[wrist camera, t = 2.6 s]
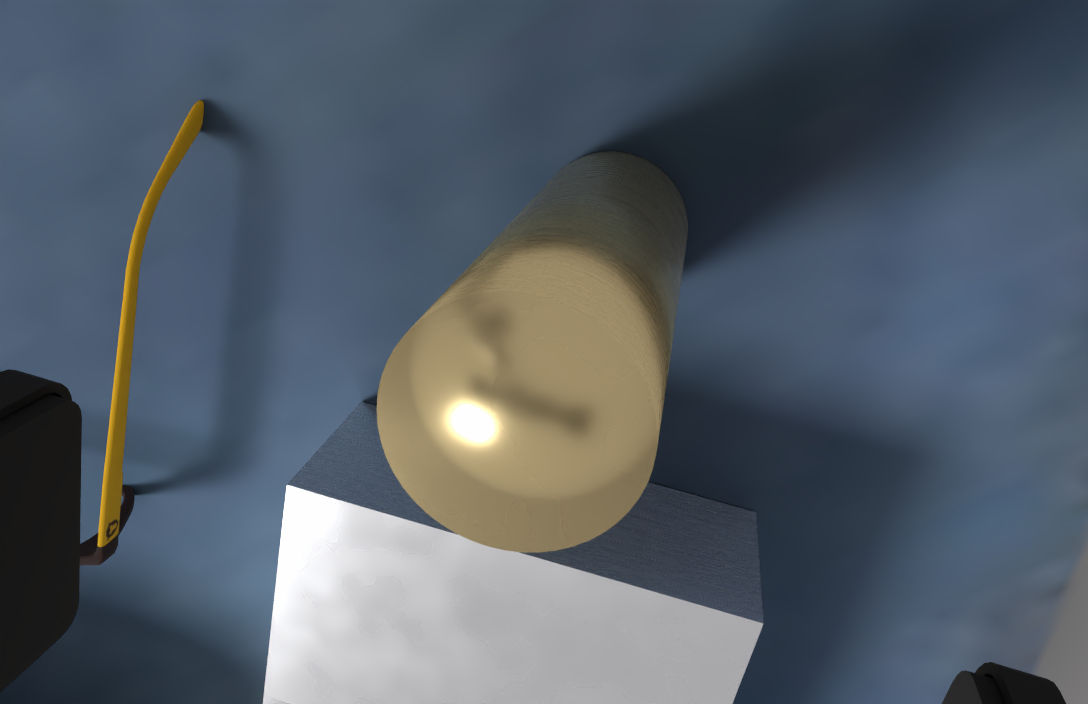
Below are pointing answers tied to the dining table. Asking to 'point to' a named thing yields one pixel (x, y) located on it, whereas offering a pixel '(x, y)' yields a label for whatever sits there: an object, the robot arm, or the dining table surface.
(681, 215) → the brass pin
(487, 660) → the gray notched block
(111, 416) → the eyeglasses
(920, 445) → the dining table surface
